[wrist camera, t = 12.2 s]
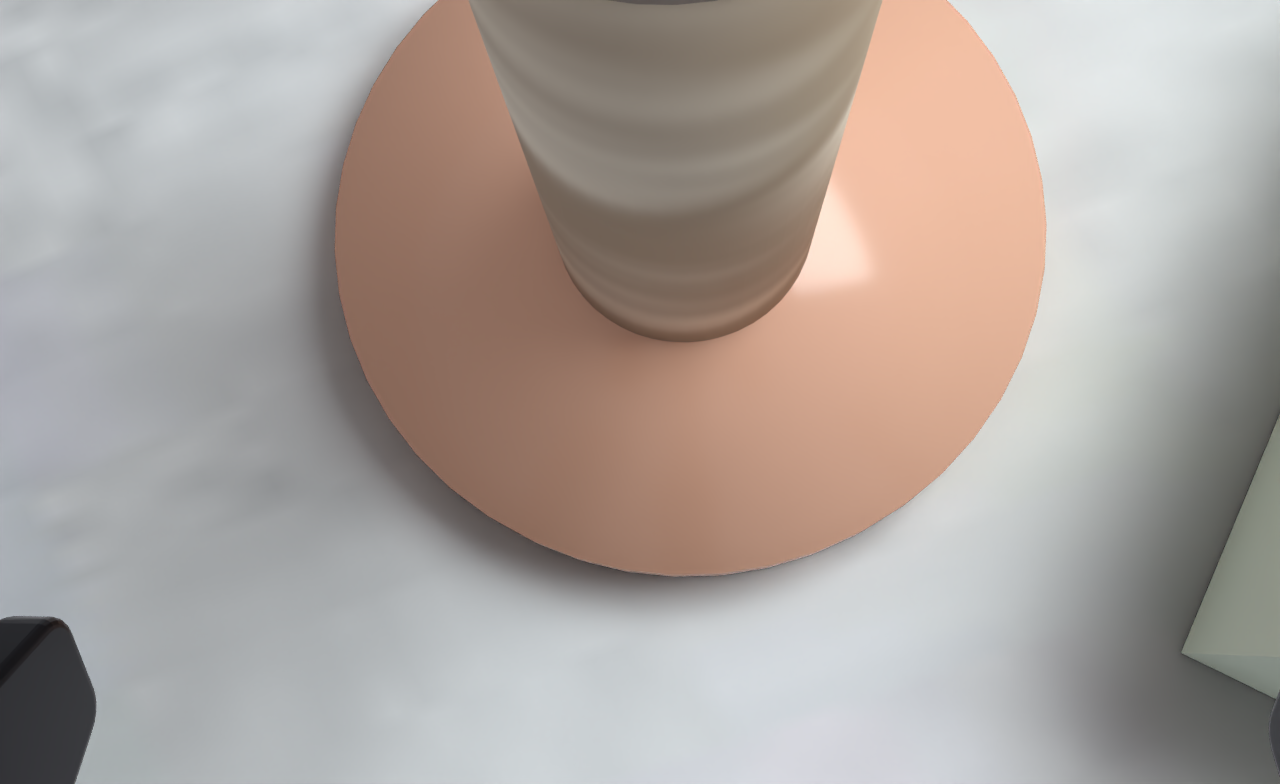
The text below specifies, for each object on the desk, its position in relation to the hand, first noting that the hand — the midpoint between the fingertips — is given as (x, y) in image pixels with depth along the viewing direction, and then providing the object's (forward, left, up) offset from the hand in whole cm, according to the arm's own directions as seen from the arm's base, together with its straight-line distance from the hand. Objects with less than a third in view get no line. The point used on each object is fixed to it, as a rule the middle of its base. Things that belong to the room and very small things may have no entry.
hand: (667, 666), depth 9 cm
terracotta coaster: (+2, +6, -9) cm, 11 cm away
